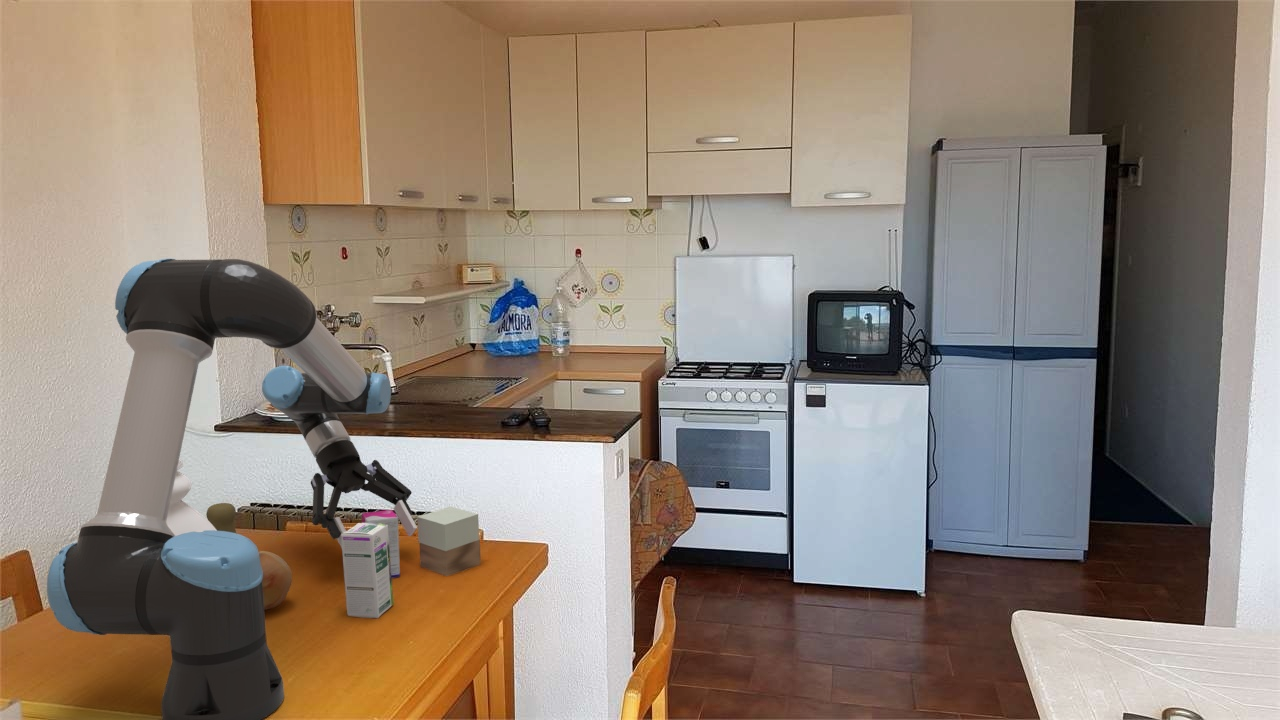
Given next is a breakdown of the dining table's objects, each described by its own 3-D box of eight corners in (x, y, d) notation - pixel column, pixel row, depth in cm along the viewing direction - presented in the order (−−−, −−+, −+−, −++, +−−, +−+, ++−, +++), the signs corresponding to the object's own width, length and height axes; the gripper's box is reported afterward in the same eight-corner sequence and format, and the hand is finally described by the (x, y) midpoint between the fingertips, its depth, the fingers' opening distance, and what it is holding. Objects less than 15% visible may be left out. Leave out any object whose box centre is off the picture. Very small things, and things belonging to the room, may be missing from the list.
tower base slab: (446, 577, 177) (445, 551, 176) (420, 567, 182) (419, 541, 181) (480, 565, 183) (479, 539, 182) (454, 555, 188) (453, 531, 187)
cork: (207, 556, 189) (203, 502, 187) (240, 552, 191) (236, 498, 190) (208, 566, 183) (203, 510, 182) (242, 561, 186) (238, 506, 184)
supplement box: (401, 576, 177) (398, 516, 175) (368, 582, 174) (365, 521, 173) (395, 566, 182) (392, 508, 180) (363, 572, 180) (359, 512, 178)
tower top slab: (445, 551, 176) (444, 524, 175) (418, 542, 181) (417, 516, 180) (479, 539, 182) (478, 514, 181) (451, 531, 187) (450, 506, 186)
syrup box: (378, 619, 158) (373, 534, 156) (345, 616, 159) (340, 532, 157) (394, 605, 164) (389, 523, 162) (362, 603, 165) (357, 521, 163)
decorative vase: (229, 581, 176) (219, 447, 172) (224, 618, 159) (212, 471, 155) (120, 595, 170) (107, 457, 166) (102, 635, 153) (87, 483, 149)
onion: (306, 604, 165) (303, 547, 163) (256, 624, 156) (252, 566, 155) (270, 593, 170) (266, 538, 168) (219, 612, 162) (215, 555, 160)
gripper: (381, 449, 197) (429, 535, 189) (266, 474, 178) (314, 570, 171) (395, 427, 193) (445, 514, 185) (278, 450, 174) (328, 548, 166)
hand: (382, 541), depth 178 cm, fingers open, 13 cm apart
